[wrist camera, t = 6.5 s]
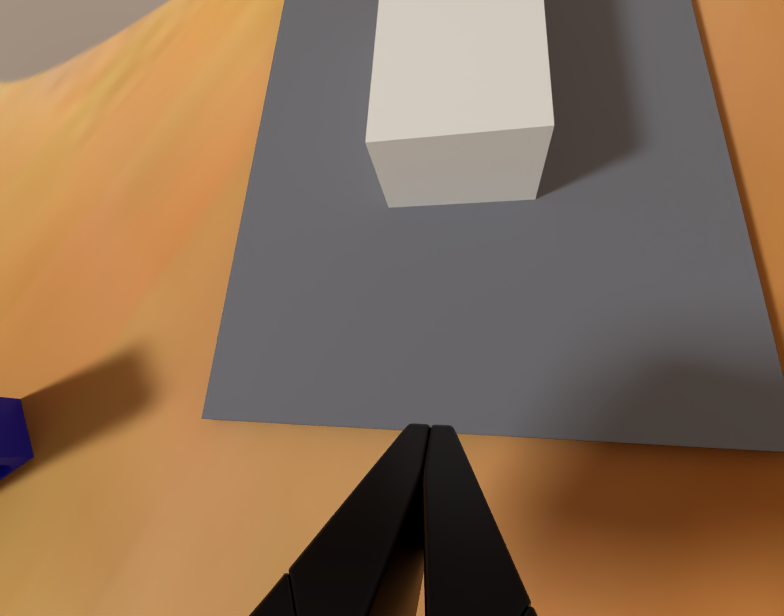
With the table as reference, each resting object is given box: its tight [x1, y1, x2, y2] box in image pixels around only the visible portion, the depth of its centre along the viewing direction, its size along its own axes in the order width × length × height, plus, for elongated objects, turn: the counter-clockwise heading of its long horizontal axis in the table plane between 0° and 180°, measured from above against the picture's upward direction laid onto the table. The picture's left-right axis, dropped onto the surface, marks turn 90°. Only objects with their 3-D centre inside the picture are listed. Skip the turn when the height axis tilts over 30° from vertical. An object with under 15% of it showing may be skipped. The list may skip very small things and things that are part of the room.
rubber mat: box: [202, 0, 784, 452], centre depth 18 cm, size 24×20×1 cm
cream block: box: [365, 0, 554, 208], centre depth 16 cm, size 4×6×12 cm
